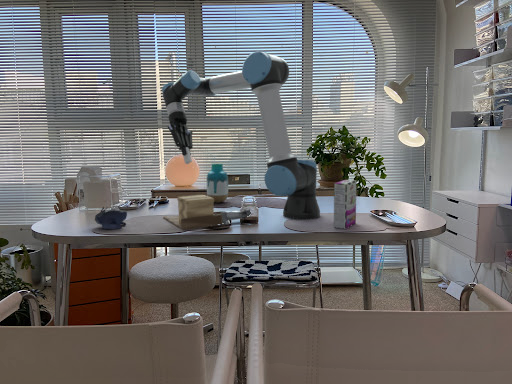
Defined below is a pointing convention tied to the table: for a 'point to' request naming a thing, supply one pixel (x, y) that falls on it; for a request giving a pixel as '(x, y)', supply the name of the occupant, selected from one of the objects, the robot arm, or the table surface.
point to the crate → (195, 206)
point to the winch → (234, 215)
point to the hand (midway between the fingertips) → (188, 162)
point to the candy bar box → (344, 203)
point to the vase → (217, 183)
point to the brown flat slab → (195, 221)
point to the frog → (111, 218)
